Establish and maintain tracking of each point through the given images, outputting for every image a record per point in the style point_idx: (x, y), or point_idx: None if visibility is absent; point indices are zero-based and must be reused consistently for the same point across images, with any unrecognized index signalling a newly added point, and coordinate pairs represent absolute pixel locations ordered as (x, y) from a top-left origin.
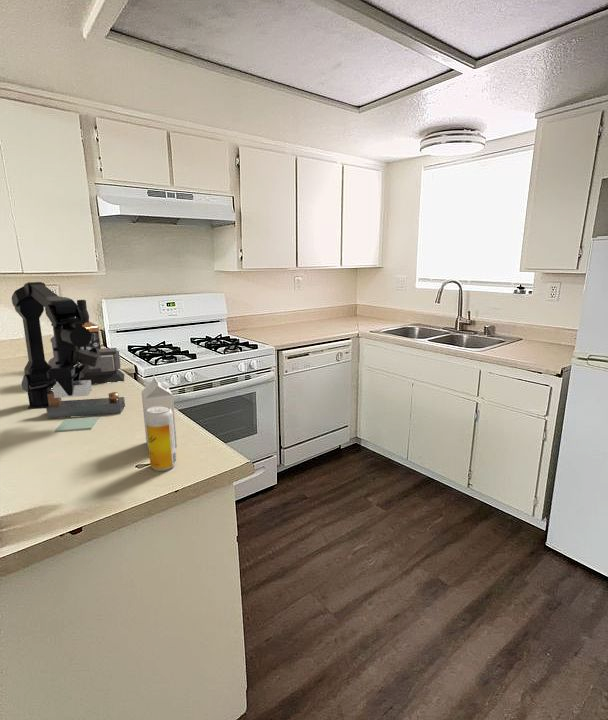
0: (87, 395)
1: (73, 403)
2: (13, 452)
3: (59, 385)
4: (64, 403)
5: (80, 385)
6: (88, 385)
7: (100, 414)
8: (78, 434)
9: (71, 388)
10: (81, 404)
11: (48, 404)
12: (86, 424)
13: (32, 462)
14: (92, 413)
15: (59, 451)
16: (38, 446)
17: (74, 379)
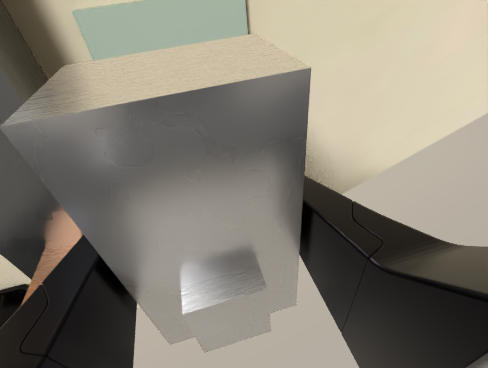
0: (250, 35)
1: (28, 207)
2: (374, 165)
3: (277, 291)
4: (45, 239)
5: (301, 140)
6: (178, 75)
7: (14, 26)
8: (295, 30)
9: (327, 190)
10: (25, 163)
11: (7, 295)
12: (198, 38)
13: (468, 80)
14: (38, 77)
15: (434, 30)
16: (360, 125)
17: (110, 301)
